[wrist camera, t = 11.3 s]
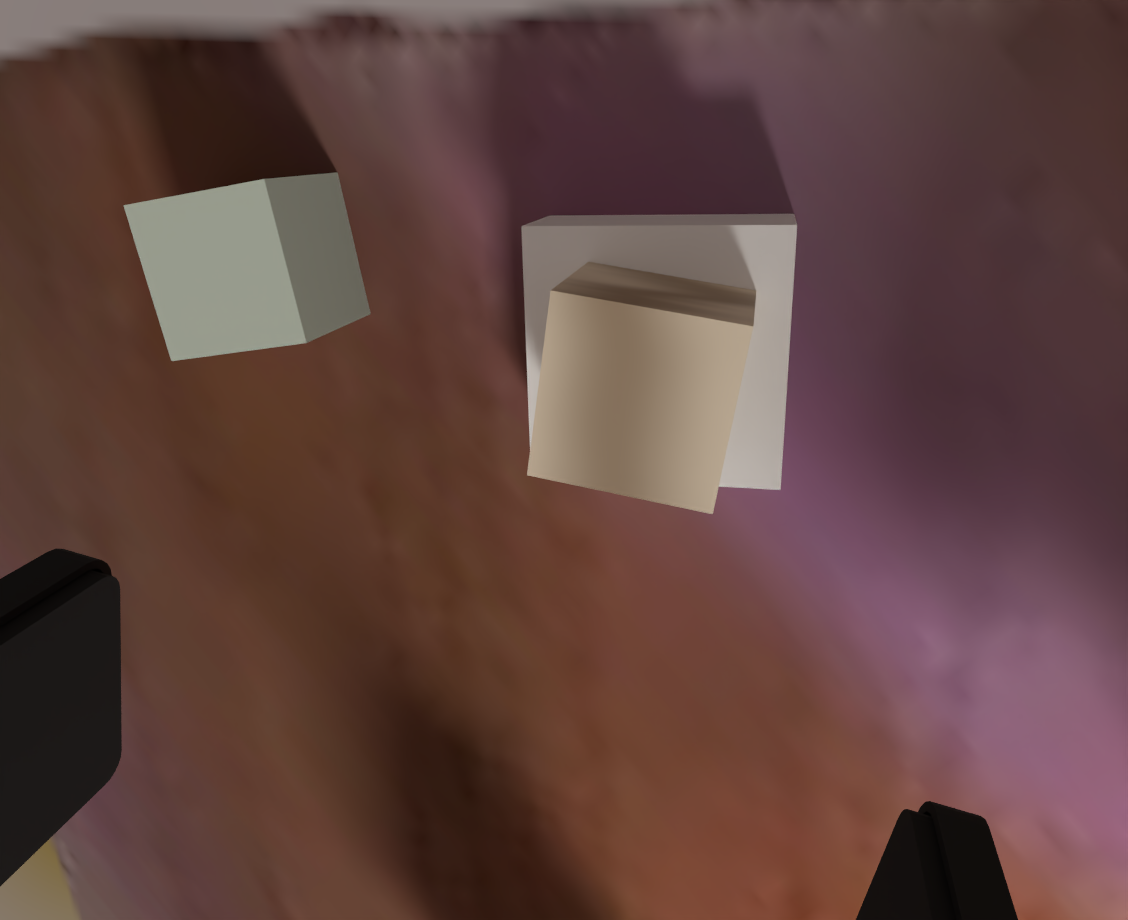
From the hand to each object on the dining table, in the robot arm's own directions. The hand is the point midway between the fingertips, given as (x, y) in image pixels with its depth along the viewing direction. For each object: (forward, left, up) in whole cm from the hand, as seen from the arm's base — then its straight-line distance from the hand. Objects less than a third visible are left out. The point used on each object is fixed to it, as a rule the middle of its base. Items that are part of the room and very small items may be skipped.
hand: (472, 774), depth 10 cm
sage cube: (+14, 0, -22) cm, 26 cm away
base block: (0, 0, -23) cm, 23 cm away
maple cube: (0, -1, -19) cm, 19 cm away
